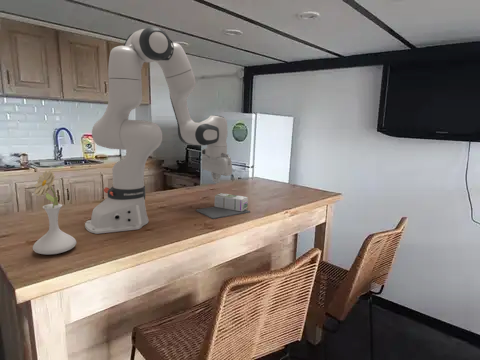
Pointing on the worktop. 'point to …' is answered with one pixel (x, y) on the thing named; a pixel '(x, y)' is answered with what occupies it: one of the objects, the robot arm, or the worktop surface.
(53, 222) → the flower in vase
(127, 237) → the worktop surface
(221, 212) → the rubber mat
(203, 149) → the robot arm
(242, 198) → the syrup box
